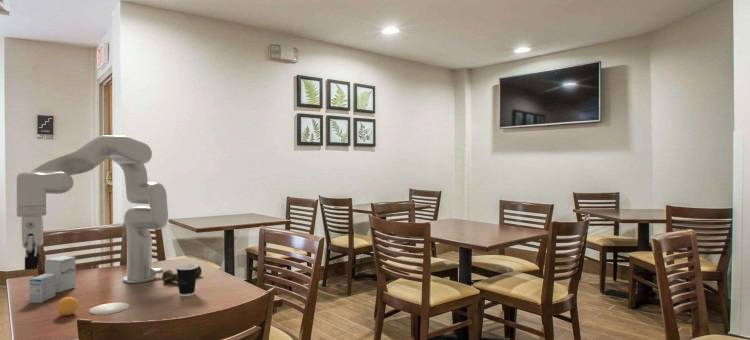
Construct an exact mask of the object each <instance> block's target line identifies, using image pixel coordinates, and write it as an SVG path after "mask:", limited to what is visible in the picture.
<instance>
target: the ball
mask: <svg viewBox="0 0 750 340" xmlns="http://www.w3.org/2000/svg"><path fill="white" fill-rule="evenodd" d="M79 306H80V305H79V300H77V299H76V298H75V297H73V296H65V297H63V298H61V299H60V300H59V301H58V302H57V306H56V311H57V312H58V314H59V315H62V316H70V315H73V314H74V313H76V312H77V310H78V308H79Z"/></svg>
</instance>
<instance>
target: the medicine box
mask: <svg viewBox="0 0 750 340" xmlns="http://www.w3.org/2000/svg"><path fill="white" fill-rule="evenodd" d="M55 279H56V275H55V274H45V273H43V274H40V275H37V276H35V277H33V278H30V279H29V298H28V299H29V304H42V303H45V301H48V300H50V299H52V298H54V297H56V292H55Z"/></svg>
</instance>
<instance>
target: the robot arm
mask: <svg viewBox="0 0 750 340" xmlns="http://www.w3.org/2000/svg"><path fill="white" fill-rule="evenodd" d="M152 154H153V152H152V148H151V147H150V146H149V145H148V144H146V143H145V142H142V141H139V140H137V139H135V138H132V137H129V136H125V135H112V134H111V135H110V134H109V135H107V134H106V135H105V134H104V135H99V136H97V137H95V138H93V139H91V140H90V141H88V142H87V143H86V144H84V145H83V146H81V147H80V148H78V149H76V150H75V151H73V152H70V153H67V154H64V155H61V156H59V157H56V158H53V159H51V160H49V161H46V162H44V163H42V164H41V165H38V166H37V167H36V168H34V169H32V171H30V172H21V173H19V174H17V176H16V217H20V218H21V222H20V223H21V241H22V242H21V243H22V248H24V249H25V251H24V252H25V255H24V256H25V257H24V270H25V271H27V270H38V267H39V264H40V262H39V261H40V253H39V247H42V246H43V244H44V221H43V220H44V219H43V216H47V194H54V195H57V194H58V195H60V194H65V193H68V192H69V191H71V190H72V188H73V186H74V178H73V177H72V176H75V175H80V174H85V173H88V172H91V171H92V170H94V169H95V168H97V167H98V166H100V164H102V163H103V162H105V161H106V160H108V159H109V158H110V159H111V161H113V163H116V164H117V165H118V166H119V167H120V168H121V169H122V171H123V174H124V182H125V183H124V185H125V193H126V199H127V201H128V202H129V203H131V204H134V205H149V206H133V207H129V208H128V209H127V210H126V211H125V213H124V217H123V221H124V225H125V231H126V276H124V277H122V282H123V283H127V284H139V283H146V282H151V281H153V280H155V279H156V278H157V277H156V276H157V274H163V273H164V272H165V270H164V268H160V267H159V268H154V267H153V265H152V264H153V263H152V259H153V257H152V255H153V254H152V253H153V246H152V245H153V240H152V239H153V237H152V235H151V232H150V230H156V231H157V230H158V231H159V230H162V229H164V228H165V227H166V226H167V224H168V221H169V212H168V211H169V210H168V195H167V191H166V188H165V186H164V185H163V184H162V183H160V182H155V181H153V182H151V181H150V182H149V179H148V171H147V168H146V166H145V164H147V163H149V162H150V160H151V159H152V157H153V155H152Z"/></svg>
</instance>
